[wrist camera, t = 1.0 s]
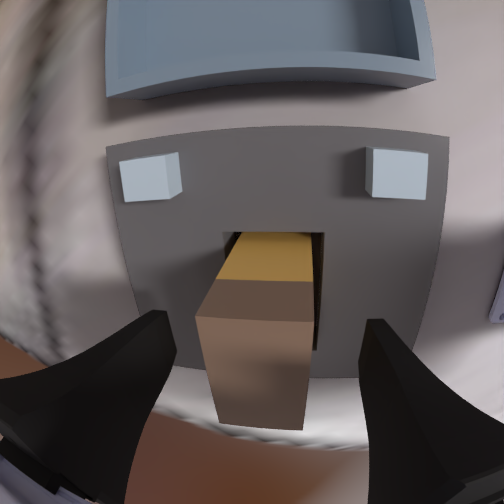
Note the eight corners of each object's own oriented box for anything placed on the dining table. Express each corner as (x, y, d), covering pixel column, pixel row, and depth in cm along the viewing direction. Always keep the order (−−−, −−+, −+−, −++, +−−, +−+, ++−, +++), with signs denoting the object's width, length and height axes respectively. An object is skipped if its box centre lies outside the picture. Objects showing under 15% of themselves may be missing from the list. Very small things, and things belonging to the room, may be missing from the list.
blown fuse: (310, 227, 13) (314, 321, 7) (307, 317, 15) (302, 430, 9) (245, 226, 14) (195, 315, 7) (251, 315, 16) (219, 423, 9)
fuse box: (429, 134, 10) (464, 139, 8) (395, 351, 15) (407, 391, 12) (129, 142, 13) (88, 150, 10) (167, 341, 18) (147, 376, 15)
